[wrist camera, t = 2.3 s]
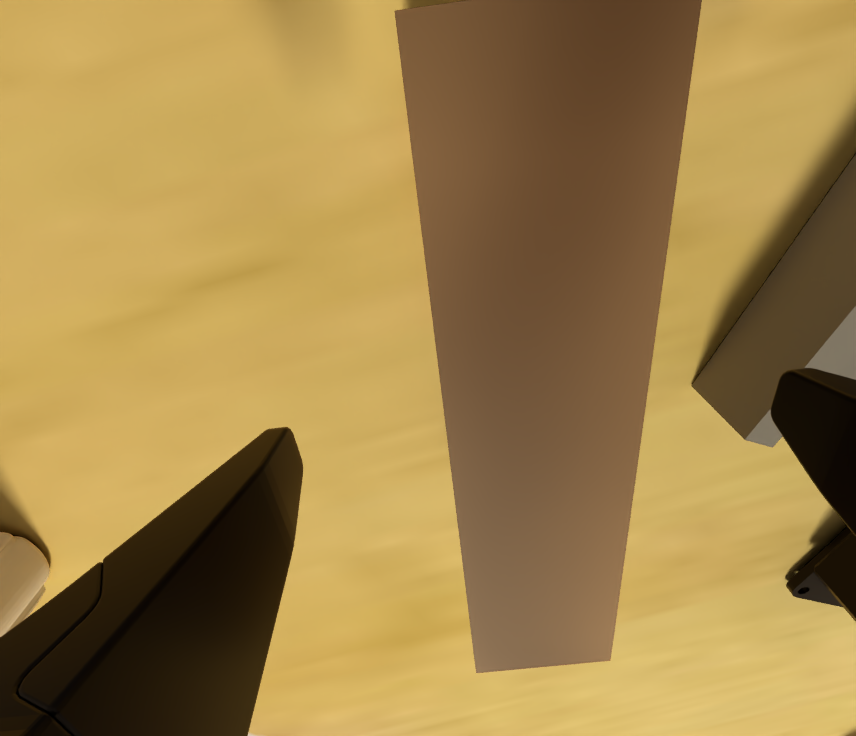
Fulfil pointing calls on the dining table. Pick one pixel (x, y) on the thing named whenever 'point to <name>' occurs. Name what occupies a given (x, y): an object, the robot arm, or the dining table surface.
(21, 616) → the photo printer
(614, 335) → the brown flat block
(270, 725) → the dining table surface
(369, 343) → the dining table surface
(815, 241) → the display ledge
